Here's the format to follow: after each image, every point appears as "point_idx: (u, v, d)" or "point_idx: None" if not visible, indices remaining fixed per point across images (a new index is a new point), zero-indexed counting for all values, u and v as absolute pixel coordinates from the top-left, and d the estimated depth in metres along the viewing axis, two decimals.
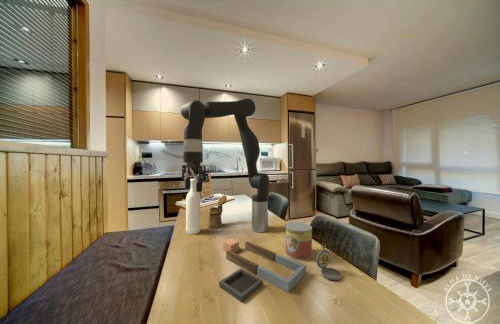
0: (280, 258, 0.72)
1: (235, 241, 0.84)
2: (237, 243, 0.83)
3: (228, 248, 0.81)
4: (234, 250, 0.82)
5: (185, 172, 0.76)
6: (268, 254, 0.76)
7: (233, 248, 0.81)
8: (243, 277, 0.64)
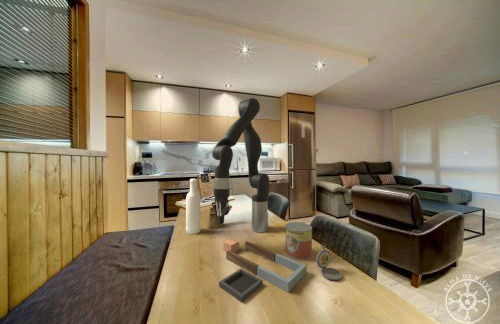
0: (280, 258, 0.72)
1: (235, 241, 0.84)
2: (237, 243, 0.83)
3: (228, 248, 0.81)
4: (234, 250, 0.82)
5: (216, 207, 0.88)
6: (268, 254, 0.76)
7: (233, 248, 0.81)
8: (243, 277, 0.64)
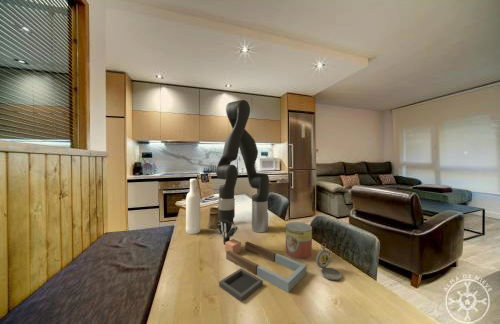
0: (280, 258, 0.72)
1: (237, 242, 0.83)
2: (239, 244, 0.82)
3: (230, 249, 0.80)
4: (236, 251, 0.81)
5: (221, 228, 0.86)
6: (268, 254, 0.76)
7: (234, 249, 0.80)
8: (243, 277, 0.64)
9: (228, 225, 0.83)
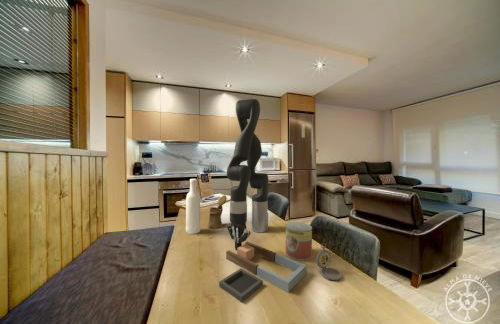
0: (280, 258, 0.72)
1: (250, 247, 0.78)
2: (252, 250, 0.77)
3: (243, 255, 0.75)
4: (249, 257, 0.76)
5: (232, 232, 0.80)
6: (268, 254, 0.76)
7: (248, 255, 0.75)
8: (243, 277, 0.64)
9: (240, 230, 0.78)
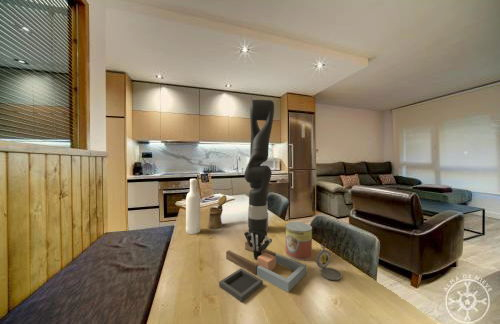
0: (280, 258, 0.72)
1: (271, 256, 0.70)
2: (274, 259, 0.70)
3: (264, 265, 0.68)
4: (271, 268, 0.68)
5: (251, 240, 0.73)
6: None
7: (270, 266, 0.68)
8: (243, 277, 0.64)
9: (260, 237, 0.71)
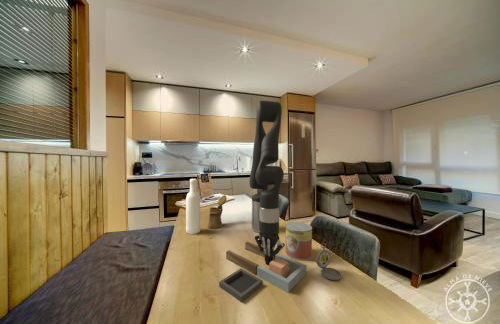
0: (280, 258, 0.72)
1: (284, 262, 0.67)
2: (287, 265, 0.66)
3: (277, 272, 0.64)
4: (284, 274, 0.65)
5: (262, 244, 0.70)
6: None
7: (283, 272, 0.64)
8: (243, 277, 0.64)
9: (273, 241, 0.67)
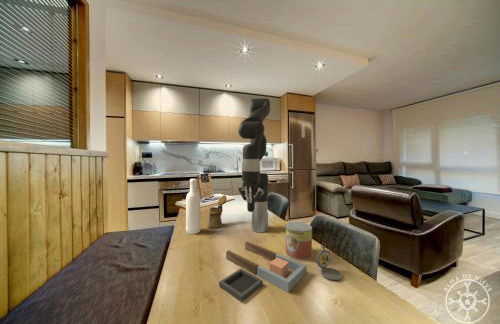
0: (280, 258, 0.72)
1: (284, 262, 0.67)
2: (287, 265, 0.66)
3: (277, 272, 0.64)
4: (284, 274, 0.65)
5: (245, 193, 0.76)
6: (268, 254, 0.76)
7: (283, 272, 0.64)
8: (243, 277, 0.64)
9: (254, 189, 0.74)
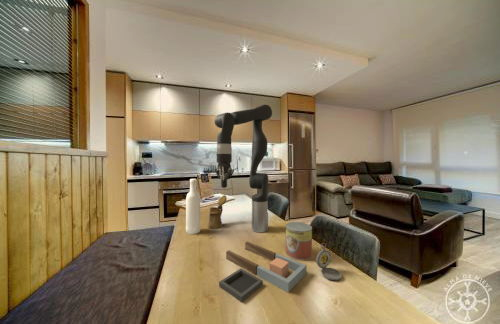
0: (280, 258, 0.72)
1: (284, 262, 0.67)
2: (287, 265, 0.66)
3: (277, 272, 0.64)
4: (284, 274, 0.65)
5: (219, 172, 0.93)
6: (268, 254, 0.76)
7: (283, 272, 0.64)
8: (243, 277, 0.64)
9: (225, 168, 0.91)
